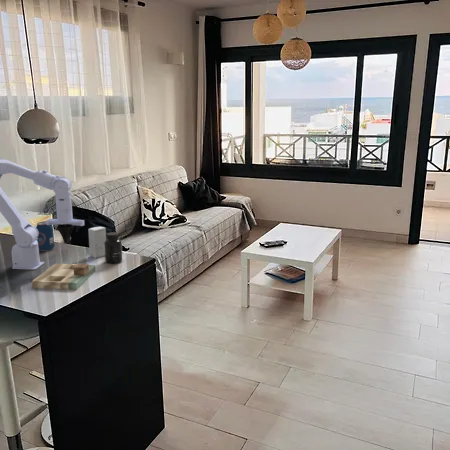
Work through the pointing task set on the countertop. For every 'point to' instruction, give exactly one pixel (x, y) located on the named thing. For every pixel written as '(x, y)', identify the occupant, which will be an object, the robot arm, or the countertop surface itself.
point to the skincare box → (97, 241)
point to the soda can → (45, 236)
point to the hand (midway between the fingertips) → (67, 242)
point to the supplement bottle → (113, 248)
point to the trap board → (61, 277)
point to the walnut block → (81, 269)
